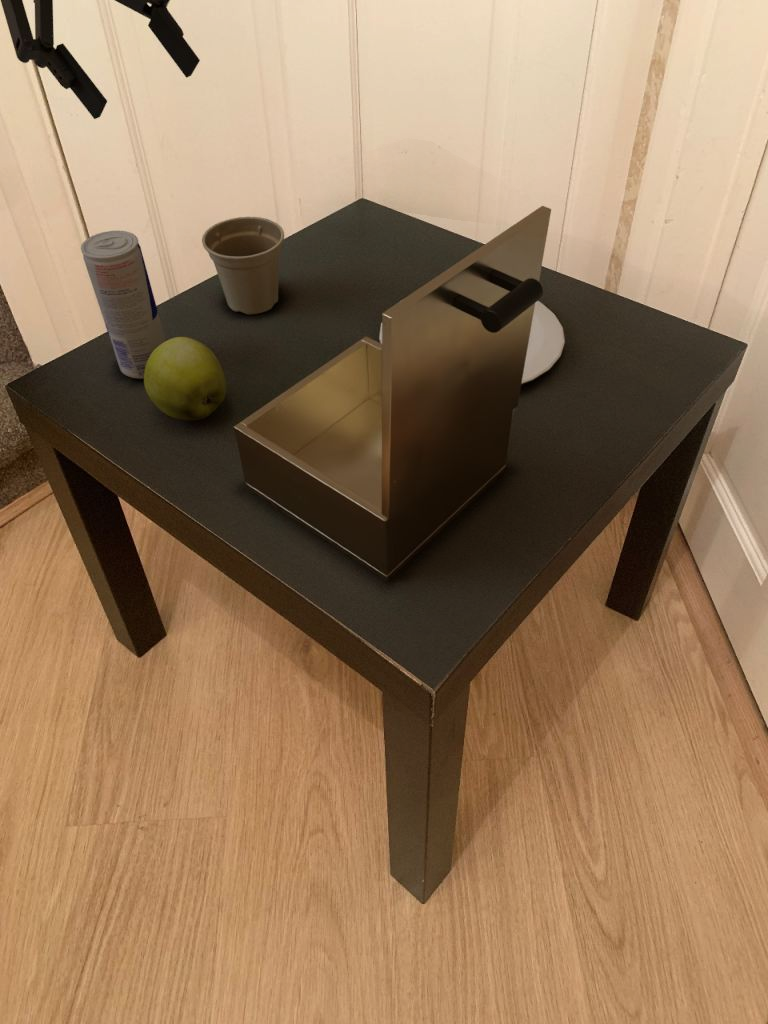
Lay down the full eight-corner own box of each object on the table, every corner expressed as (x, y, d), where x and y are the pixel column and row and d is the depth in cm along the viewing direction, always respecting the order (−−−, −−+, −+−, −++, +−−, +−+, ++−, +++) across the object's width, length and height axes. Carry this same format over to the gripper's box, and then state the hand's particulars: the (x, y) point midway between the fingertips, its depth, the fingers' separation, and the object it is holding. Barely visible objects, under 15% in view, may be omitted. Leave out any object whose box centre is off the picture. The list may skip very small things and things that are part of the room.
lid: (381, 313, 48) (441, 343, 46) (542, 205, 57) (598, 226, 55) (381, 514, 62) (427, 544, 60) (510, 402, 70) (554, 425, 68)
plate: (454, 275, 100) (454, 262, 99) (598, 336, 91) (600, 323, 90) (341, 350, 90) (340, 338, 89) (490, 428, 80) (491, 416, 79)
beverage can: (181, 364, 89) (149, 240, 78) (140, 388, 86) (100, 263, 75) (152, 345, 92) (117, 222, 81) (110, 367, 89) (68, 243, 78)
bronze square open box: (246, 488, 75) (233, 426, 70) (368, 397, 84) (365, 335, 79) (387, 582, 67) (385, 520, 62) (505, 470, 76) (513, 408, 71)
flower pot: (307, 300, 97) (301, 234, 91) (248, 333, 93) (237, 266, 86) (258, 273, 102) (248, 208, 96) (199, 303, 97) (185, 237, 91)
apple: (198, 374, 88) (183, 312, 82) (247, 412, 83) (235, 349, 77) (137, 406, 84) (117, 343, 78) (185, 448, 79) (167, 384, 74)
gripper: (92, -94, 90) (214, 74, 95) (-107, -42, 76) (48, 151, 81) (111, -151, 84) (240, 32, 89) (-101, -106, 70) (66, 107, 75)
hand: (149, 89), depth 85 cm, fingers open, 13 cm apart
